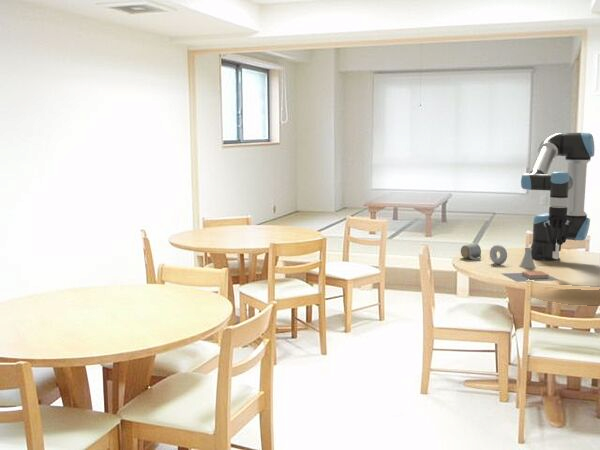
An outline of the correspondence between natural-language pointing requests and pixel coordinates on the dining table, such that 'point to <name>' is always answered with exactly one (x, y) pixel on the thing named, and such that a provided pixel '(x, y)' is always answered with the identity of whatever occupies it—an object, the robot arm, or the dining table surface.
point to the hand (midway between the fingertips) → (555, 258)
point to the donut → (494, 254)
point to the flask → (527, 259)
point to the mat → (520, 278)
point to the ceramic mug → (471, 251)
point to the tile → (535, 274)
